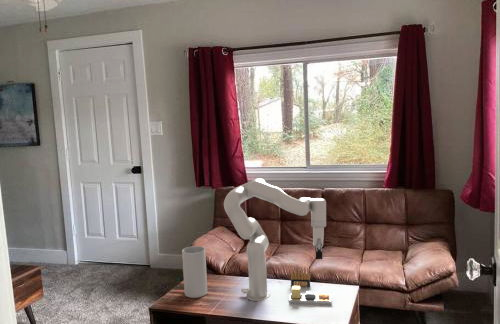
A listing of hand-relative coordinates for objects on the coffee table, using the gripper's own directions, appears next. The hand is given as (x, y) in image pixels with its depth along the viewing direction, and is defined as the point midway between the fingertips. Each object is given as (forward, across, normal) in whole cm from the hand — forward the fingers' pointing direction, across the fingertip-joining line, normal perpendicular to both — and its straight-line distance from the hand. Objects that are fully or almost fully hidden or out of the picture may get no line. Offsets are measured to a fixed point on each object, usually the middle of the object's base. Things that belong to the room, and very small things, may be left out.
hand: (318, 255), depth 218 cm
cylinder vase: (+25, -6, -67) cm, 72 cm away
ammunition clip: (+24, -16, -10) cm, 31 cm away
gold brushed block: (+23, +3, -12) cm, 26 cm away
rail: (+24, +3, -5) cm, 25 cm away
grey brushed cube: (+23, +3, -5) cm, 24 cm away
